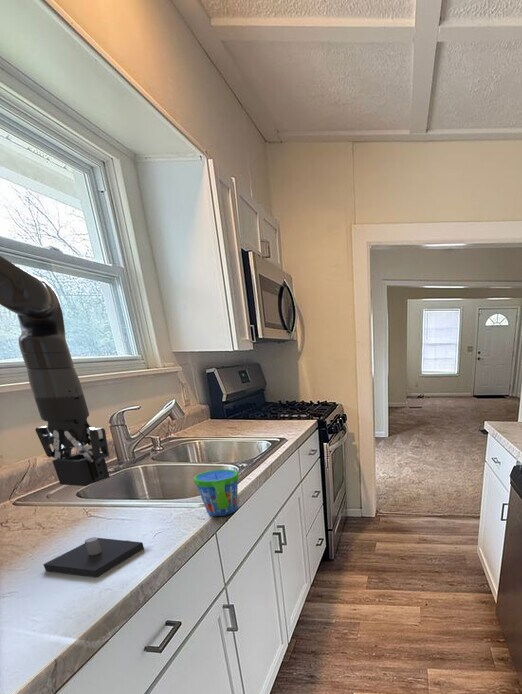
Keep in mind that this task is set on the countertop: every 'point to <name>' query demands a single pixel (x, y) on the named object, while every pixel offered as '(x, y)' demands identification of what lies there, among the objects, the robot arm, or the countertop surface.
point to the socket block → (76, 470)
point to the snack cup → (218, 491)
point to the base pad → (94, 557)
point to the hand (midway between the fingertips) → (84, 477)
